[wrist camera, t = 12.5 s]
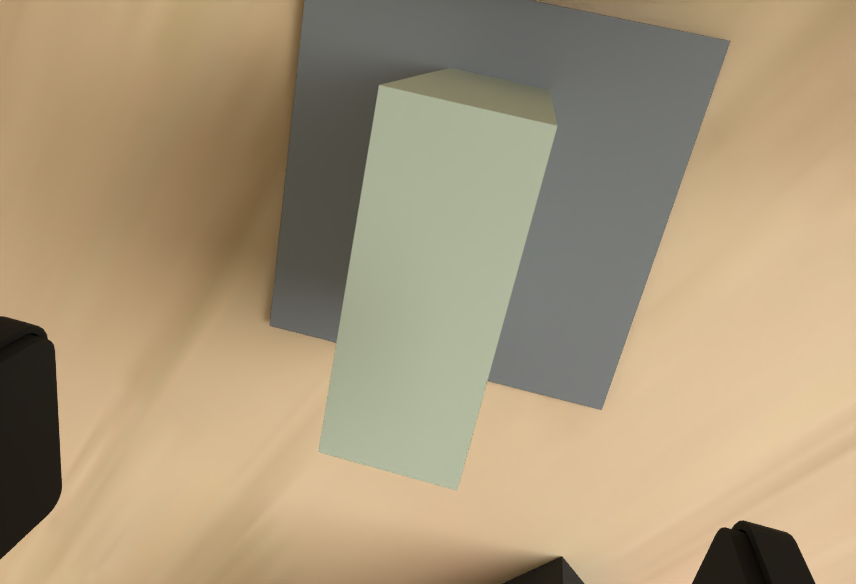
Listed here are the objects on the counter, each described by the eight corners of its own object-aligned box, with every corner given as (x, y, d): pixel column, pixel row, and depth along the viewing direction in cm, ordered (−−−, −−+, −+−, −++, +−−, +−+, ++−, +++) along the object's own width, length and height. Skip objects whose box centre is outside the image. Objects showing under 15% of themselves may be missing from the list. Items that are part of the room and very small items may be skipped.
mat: (726, 40, 24) (730, 40, 23) (600, 404, 30) (601, 409, 29) (313, -43, 25) (309, -45, 25) (273, 321, 31) (269, 325, 31)
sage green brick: (550, 90, 25) (557, 126, 14) (489, 319, 29) (457, 490, 18) (450, 67, 25) (379, 84, 14) (403, 297, 29) (318, 452, 18)
